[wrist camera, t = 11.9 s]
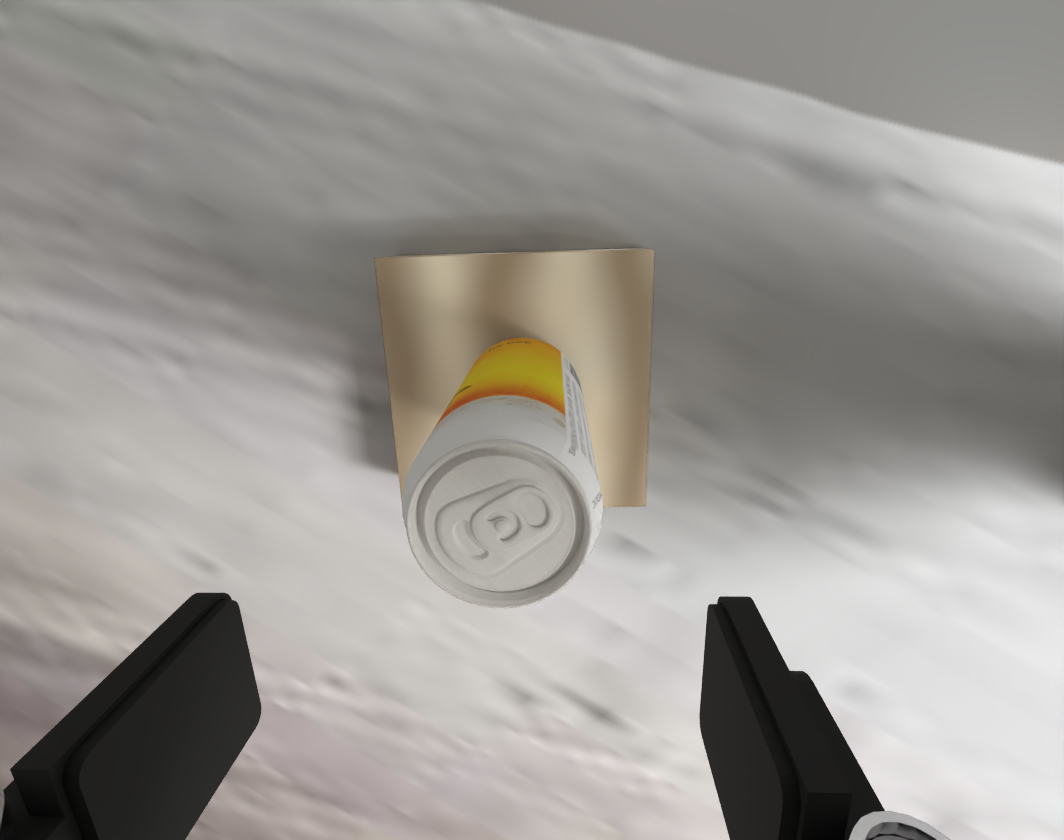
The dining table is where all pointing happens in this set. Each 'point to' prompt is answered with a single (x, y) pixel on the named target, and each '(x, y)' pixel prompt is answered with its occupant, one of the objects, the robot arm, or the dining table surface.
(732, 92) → the dining table surface
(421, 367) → the birch plinth
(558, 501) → the beer can
